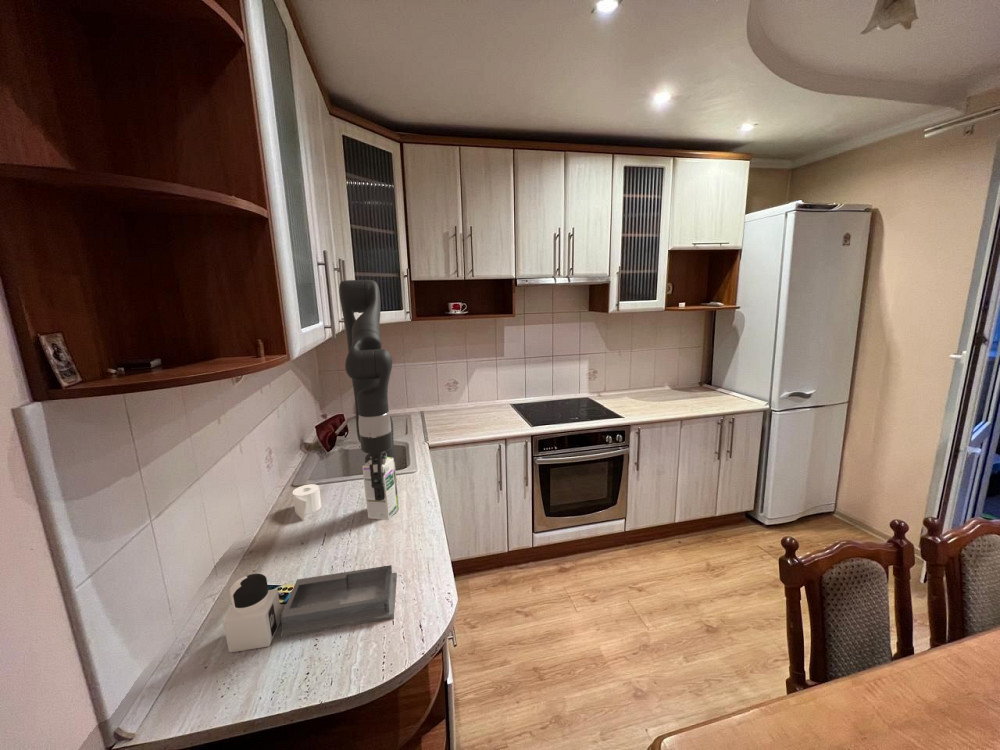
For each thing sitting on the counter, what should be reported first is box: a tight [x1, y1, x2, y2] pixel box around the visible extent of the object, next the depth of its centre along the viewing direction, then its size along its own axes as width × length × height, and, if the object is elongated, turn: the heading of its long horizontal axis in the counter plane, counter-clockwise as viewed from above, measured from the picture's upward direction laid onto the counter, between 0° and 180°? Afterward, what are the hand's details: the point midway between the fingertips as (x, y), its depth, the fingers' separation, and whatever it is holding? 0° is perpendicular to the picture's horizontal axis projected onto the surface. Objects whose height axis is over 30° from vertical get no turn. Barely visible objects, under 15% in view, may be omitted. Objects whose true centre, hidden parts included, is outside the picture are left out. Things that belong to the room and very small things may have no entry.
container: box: [223, 573, 283, 653], centre depth 84 cm, size 8×8×13 cm
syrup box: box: [361, 457, 399, 521], centre depth 102 cm, size 6×6×14 cm
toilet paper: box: [292, 483, 322, 522], centre depth 136 cm, size 8×11×7 cm
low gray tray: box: [280, 565, 398, 639], centre depth 93 cm, size 14×23×4 cm, turn 102°
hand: (381, 492), depth 102 cm, fingers closed on syrup box, 7 cm apart
